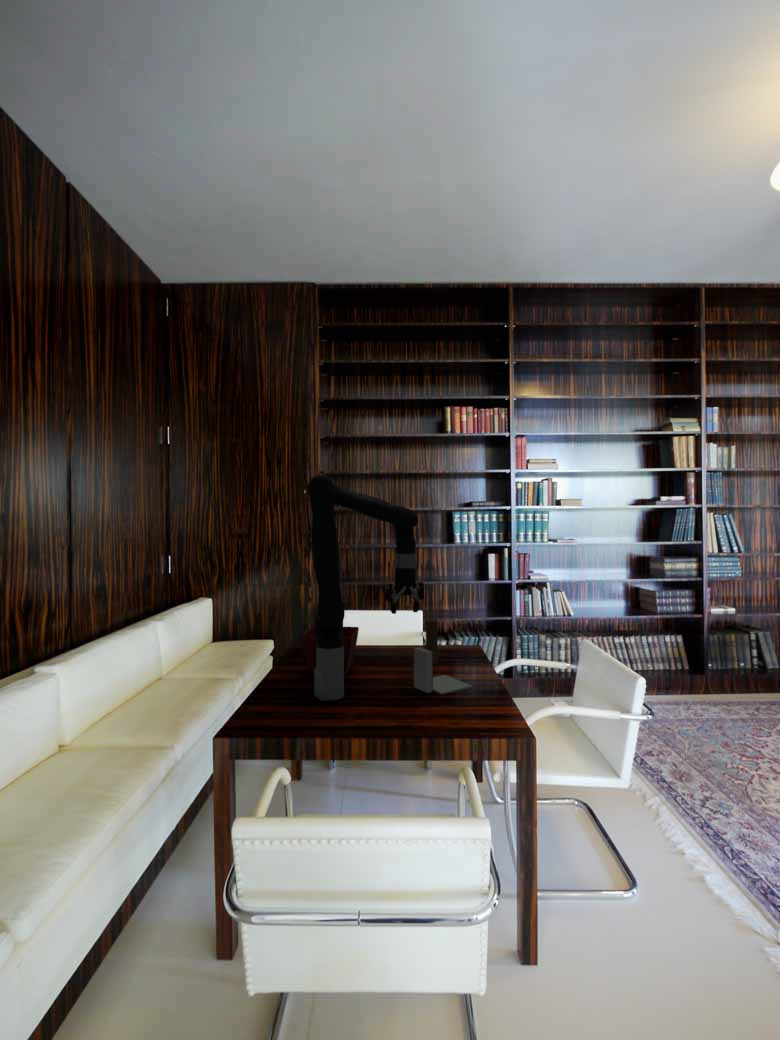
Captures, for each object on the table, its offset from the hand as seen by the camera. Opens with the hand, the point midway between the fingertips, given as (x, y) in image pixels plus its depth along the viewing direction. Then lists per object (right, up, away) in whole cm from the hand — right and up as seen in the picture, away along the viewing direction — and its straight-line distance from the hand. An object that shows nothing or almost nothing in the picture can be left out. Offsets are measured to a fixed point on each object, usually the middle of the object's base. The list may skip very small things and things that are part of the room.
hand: (404, 612), depth 186 cm
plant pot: (-28, -28, +22) cm, 45 cm away
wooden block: (+10, -28, +37) cm, 47 cm away
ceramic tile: (+7, -28, +3) cm, 29 cm away
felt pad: (+14, -28, +7) cm, 32 cm away
